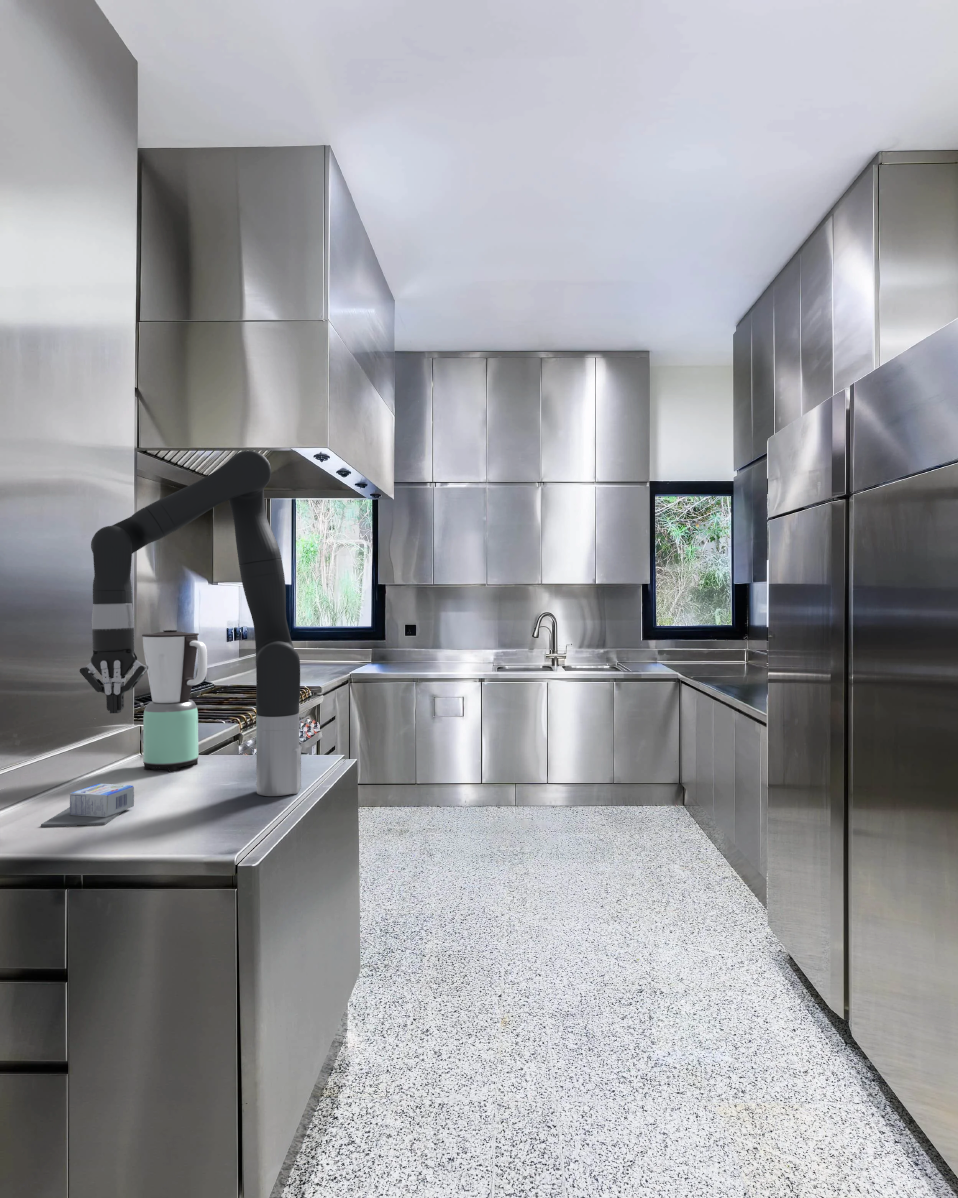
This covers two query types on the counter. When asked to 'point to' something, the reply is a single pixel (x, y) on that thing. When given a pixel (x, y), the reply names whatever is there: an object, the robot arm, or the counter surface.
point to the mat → (76, 819)
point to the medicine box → (101, 800)
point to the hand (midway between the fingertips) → (115, 712)
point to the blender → (172, 699)
